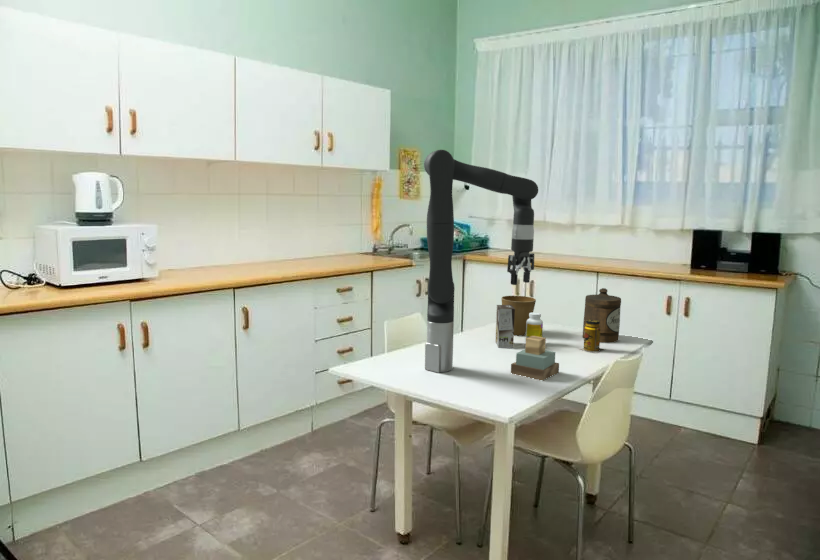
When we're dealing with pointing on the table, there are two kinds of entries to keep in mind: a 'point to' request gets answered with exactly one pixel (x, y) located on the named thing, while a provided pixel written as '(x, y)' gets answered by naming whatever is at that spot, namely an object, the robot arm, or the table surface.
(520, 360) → the tower top slab
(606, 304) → the wooden container
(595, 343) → the condiment
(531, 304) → the plant pot
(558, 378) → the table surface
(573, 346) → the table surface
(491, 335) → the table surface
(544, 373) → the tower bottom slab
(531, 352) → the oak block
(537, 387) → the table surface
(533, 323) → the supplement bottle
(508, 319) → the coffee box
